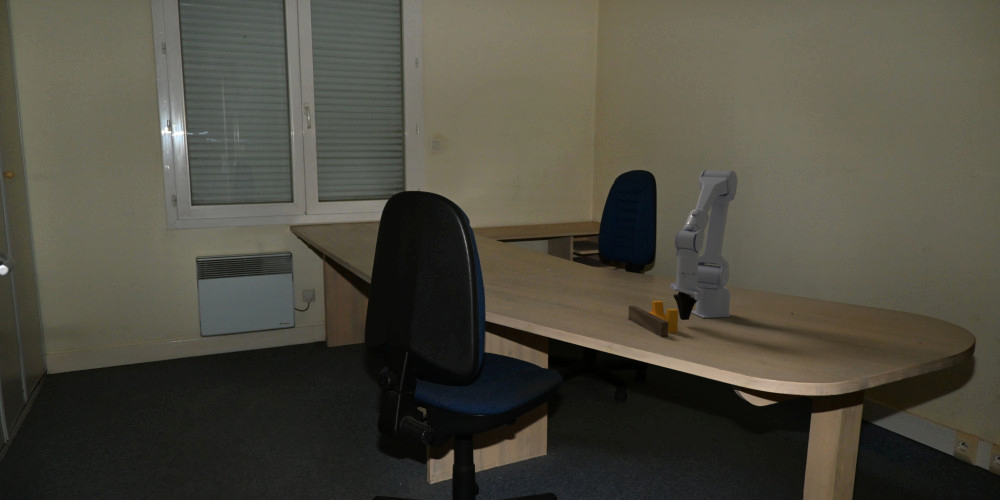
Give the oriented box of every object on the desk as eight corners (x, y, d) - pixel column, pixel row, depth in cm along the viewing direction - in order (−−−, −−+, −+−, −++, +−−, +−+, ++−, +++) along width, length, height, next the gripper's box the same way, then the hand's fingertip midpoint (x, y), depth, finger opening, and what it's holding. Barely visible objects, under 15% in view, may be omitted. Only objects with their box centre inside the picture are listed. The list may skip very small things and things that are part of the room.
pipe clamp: (645, 322, 195) (646, 301, 194) (659, 322, 195) (660, 300, 194) (662, 333, 183) (663, 310, 182) (677, 333, 184) (678, 310, 183)
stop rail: (634, 318, 198) (635, 305, 198) (667, 336, 179) (668, 322, 178) (628, 319, 198) (628, 305, 197) (661, 337, 179) (661, 322, 178)
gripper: (662, 268, 195) (659, 314, 197) (687, 277, 181) (685, 326, 183) (683, 268, 196) (681, 312, 198) (711, 277, 182) (707, 325, 184)
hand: (684, 319), depth 191 cm, fingers closed
